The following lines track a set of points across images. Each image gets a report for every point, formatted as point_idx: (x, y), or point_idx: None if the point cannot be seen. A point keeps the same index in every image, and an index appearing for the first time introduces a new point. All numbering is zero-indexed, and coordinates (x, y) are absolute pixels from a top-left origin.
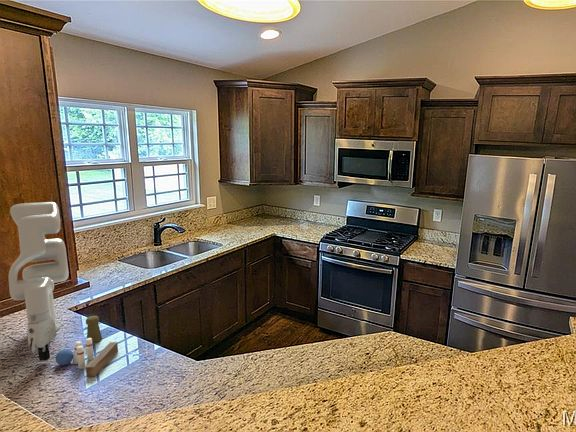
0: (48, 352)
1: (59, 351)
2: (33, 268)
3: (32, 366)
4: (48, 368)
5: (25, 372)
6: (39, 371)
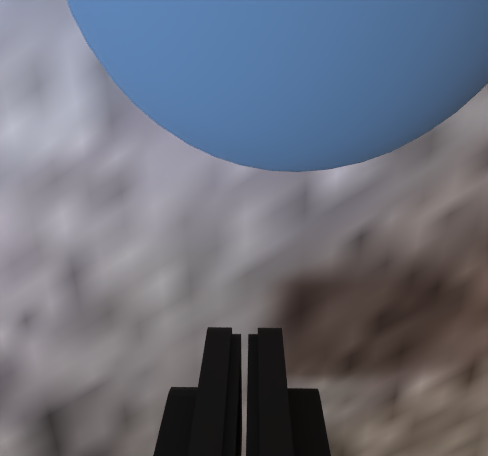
0: (222, 422)
1: (361, 68)
2: None
3: (328, 434)
4: (403, 203)
5: (466, 431)
6: (473, 284)
